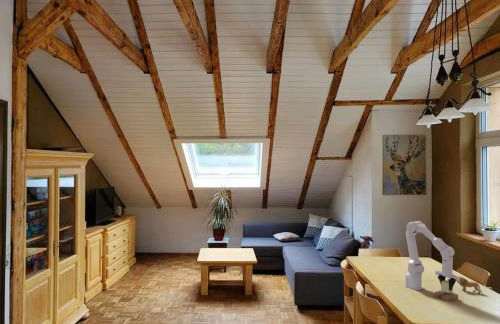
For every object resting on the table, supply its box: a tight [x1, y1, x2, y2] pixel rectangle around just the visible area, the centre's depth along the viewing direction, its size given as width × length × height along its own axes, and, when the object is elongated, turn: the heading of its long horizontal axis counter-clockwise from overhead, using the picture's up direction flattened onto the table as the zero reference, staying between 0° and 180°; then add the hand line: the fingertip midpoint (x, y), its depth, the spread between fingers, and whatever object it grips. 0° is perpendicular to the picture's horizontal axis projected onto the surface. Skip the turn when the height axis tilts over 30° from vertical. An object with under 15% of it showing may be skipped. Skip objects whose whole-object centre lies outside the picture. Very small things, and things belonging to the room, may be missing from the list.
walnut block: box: [434, 290, 459, 303], centre depth 229 cm, size 9×9×4 cm
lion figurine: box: [456, 276, 483, 295], centre depth 241 cm, size 15×5×9 cm, turn 68°
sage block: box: [440, 279, 454, 293], centre depth 229 cm, size 4×4×6 cm
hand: (446, 288), depth 229 cm, fingers closed on sage block, 4 cm apart
